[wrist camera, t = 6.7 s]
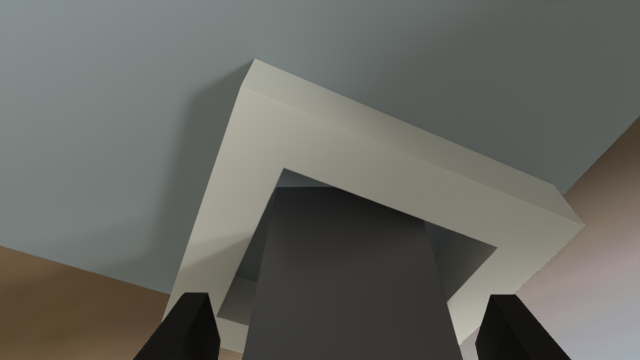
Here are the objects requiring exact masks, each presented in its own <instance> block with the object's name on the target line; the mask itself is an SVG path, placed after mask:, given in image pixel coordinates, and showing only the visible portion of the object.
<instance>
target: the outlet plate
mask: <svg viewBox="0 0 640 360" xmlns="http://www.w3.org/2000/svg"><path fill="white" fill-rule="evenodd" d="M639 116H640V0H0V246H3V247H6V248H10V249H13V250H17V251H20V252H24V253H27V254H31V255H34V256H37V257H41V258H44V259H48V260H51V261H55V262H58V263H62V264H65V265H69V266H72V267H76V268H79V269H82V270H86V271H89V272H93V273H96V274H100V275H103V276H107V277H110V278H114V279H117V280H121V281H124V282H128V283H131V284H134V285H138V286H141V287H145V288H148V289H152V290H155V291H159V292H162V293H166V294H169V295H170V298H169V301H168V304H167V307H166V310H165V313H164V316H163V319H162V321H163V320H164V319H165V317H166V316H167V315H168V313H169V312H170V311H171V309H172V308H173V306H174V305H175V304H176V302H177V301H178V299H179V298H180V297H181V295H182V294H184V293H185V292H208V294H209V298H210V302H211V306H212V309H213V313H214V317H215V321H216V324H217V328H218V332H219V336H220V339H221V343H220V348H224V349H227V350H231V351H235V352H239V353H242V354H243V353H244V348H245V343H246V338H247V333H248V328H249V323H250V318H251V313H252V308H253V303H254V298H255V293H256V288H257V283H258V278H259V273H260V268H261V263H262V258H263V253H264V248H265V244H266V239H267V234H268V229H269V224H270V219H271V214H272V209H273V204H274V199H275V194H276V189H277V187H337V188H340V189H342V190H345V191H348V192H351V193H353V194H356V195H359V196H361V197H364V198H367V199H369V200H372V201H375V202H377V203H380V204H383V205H385V206H388V207H391V208H393V209H396V210H399V211H402V212H404V213H407V214H410V215H412V216H415V217H418V218H420V219H423V220H424V223H425V227H426V230H427V234H428V238H429V241H430V245H431V248H432V252H433V255H434V259H435V262H436V266H437V270H438V273H439V277H440V280H441V284H442V287H443V291H444V294H445V298H446V302H447V305H448V309H449V312H450V316H451V319H452V323H453V326H454V330H455V334H456V337H457V341H458V344H459V345H460V344H461V343H462V342H463V341H464V340H465V339H466V338H467V337H468V336H469V335H470V334H472V333H473V332H474V331H475V330H476V329H477V328H478V327H479V326H480V325H481V323H482V320H483V317H484V314H485V311H486V307H487V304H488V301H489V298H490V294H514V293H515V292H516V291H517V290H518V289H519V288H520V287H521V286H522V285H524V284H525V283H526V282H527V281H528V280H529V279H530V278H531V277H532V276H533V275H534V274H535V273H536V272H537V271H538V270H539V269H541V268H542V267H543V266H544V265H545V264H546V263H547V262H548V261H549V260H550V259H551V258H552V257H553V256H554V255H555V254H556V253H558V252H559V251H560V250H561V249H562V248H563V247H564V246H565V245H566V244H567V243H568V242H569V241H570V240H571V239H572V238H573V237H574V236H576V235H577V234H578V233H579V232H580V231H581V230H582V229H583V228H584V227H585V225H584V223H583V222H582V221H581V220H580V218H579V217H578V216H577V214H576V213H575V212H574V211H573V209H572V208H571V207H570V205H569V204H568V203H567V201H566V200H565V199H564V198H563V195H564V194H565V193H566V192H567V191H568V190H569V189H570V188H571V187H572V186H573V185H574V184H575V183H576V181H577V180H578V179H579V178H580V177H581V176H582V175H583V174H584V173H585V172H586V171H587V170H588V169H589V168H590V167H591V166H592V165H593V164H594V163H595V162H596V161H597V160H598V159H599V158H600V157H601V156H602V155H603V153H604V152H605V151H606V150H607V149H608V148H609V147H610V146H611V145H612V144H613V143H614V142H615V141H616V140H617V139H618V138H619V137H620V136H621V135H622V134H623V133H624V132H625V131H626V130H627V129H628V128H629V127H630V125H631V124H632V123H633V122H634V121H635V120H636V119H637V118H638V117H639ZM161 323H162V322H161Z"/></svg>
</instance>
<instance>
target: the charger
mask: <svg viewBox="0 0 640 360" xmlns="http://www.w3.org/2000/svg"><path fill="white" fill-rule="evenodd" d="M242 360H463V358H462V355H461V351H460V348H459V344H458V341H457V337H456V334H455V330H454V326H453V323H452V319H451V316H450V312H449V309H448V305H447V302H446V298H445V294H444V291H443V287H442V284H441V280H440V277H439V273H438V270H437V266H436V262H435V259H434V255H433V252H432V248H431V245H430V241H429V238H428V234H427V230H426V227H425V223H424V220H423V219H420V218H418V217H415V216H412V215H410V214H407V213H404V212H402V211H399V210H396V209H393V208H391V207H388V206H385V205H383V204H380V203H377V202H375V201H372V200H369V199H367V198H364V197H361V196H359V195H356V194H353V193H351V192H348V191H345V190H342V189H340V188H337V187H277V189H276V194H275V199H274V204H273V209H272V214H271V219H270V224H269V229H268V234H267V239H266V244H265V248H264V253H263V258H262V263H261V268H260V273H259V278H258V283H257V288H256V293H255V298H254V303H253V308H252V313H251V318H250V323H249V328H248V333H247V338H246V343H245V348H244V353H243V358H242Z"/></svg>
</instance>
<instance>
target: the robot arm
mask: <svg viewBox="0 0 640 360" xmlns="http://www.w3.org/2000/svg"><path fill="white" fill-rule="evenodd" d="M220 343H221V339H220V336H219V332H218V328H217V324H216V321H215V317H214V313H213V309H212V306H211V302H210V298H209V294H208V292H185V293H184V294H182V295H181V297H180V298H179V299H178V301H177V302H176V304H175V305H174V306H173V308H172V309H171V311H170V312H169V313H168V315H167V316H166V317H165V319H164V320H163V321H162V323H161V324H160V325H159V327H158V328H157V329H156V331H155V332H154V333H153V335H152V336H151V337H150V339H149V340H148V341H147V343H146V344H145V345H144V346H143V348H142V349H141V350H140V351H139V353H138V354H137V355H136V356H135V358H134V359H133V360H218V355H219V349H220ZM475 345H476V350H477V354H478V359H479V360H571V359H570V358H569V357H568V355H567V354H566V353H565V352H564V351H563V350H562V349H561V347H560V346H559V345H558V344H557V343H556V342H555V340H554V339H553V338H552V337H551V336H550V335H549V333H548V332H547V331H546V330H545V329H544V328H543V326H542V325H541V324H540V323H539V322H538V320H537V319H536V318H535V317H534V316H533V314H532V313H531V312H530V311H529V310H528V308H527V307H526V306H525V305H524V304H523V303H522V301H521V300H520V299H519V298H518V297H517V296H516V295H515V294H490V298H489V301H488V304H487V307H486V311H485V314H484V317H483V320H482V323H481V327H480V330H479V333H478V336H477V339H476V343H475Z"/></svg>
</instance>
